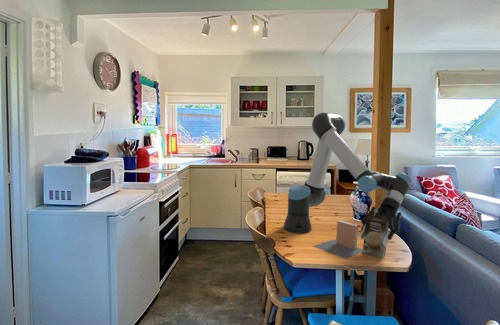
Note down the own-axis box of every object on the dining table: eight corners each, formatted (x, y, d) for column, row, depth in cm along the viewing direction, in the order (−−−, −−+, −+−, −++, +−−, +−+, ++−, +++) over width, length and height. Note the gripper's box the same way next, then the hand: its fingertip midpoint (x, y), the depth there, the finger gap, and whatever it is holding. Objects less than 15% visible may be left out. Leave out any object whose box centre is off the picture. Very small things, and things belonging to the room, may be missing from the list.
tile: (336, 243, 162) (337, 221, 160) (338, 242, 163) (339, 220, 162) (354, 249, 154) (355, 226, 153) (356, 248, 155) (358, 225, 154)
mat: (312, 247, 157) (313, 246, 156) (333, 240, 167) (333, 239, 167) (346, 259, 143) (346, 258, 143) (366, 251, 153) (366, 250, 153)
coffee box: (361, 253, 150) (364, 218, 148) (365, 248, 155) (368, 215, 153) (383, 258, 145) (386, 222, 143) (386, 253, 150) (389, 219, 148)
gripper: (419, 211, 149) (400, 253, 141) (372, 202, 166) (352, 238, 158) (414, 201, 145) (394, 243, 137) (367, 192, 162) (346, 229, 154)
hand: (372, 241), depth 147 cm, fingers closed on coffee box, 10 cm apart
